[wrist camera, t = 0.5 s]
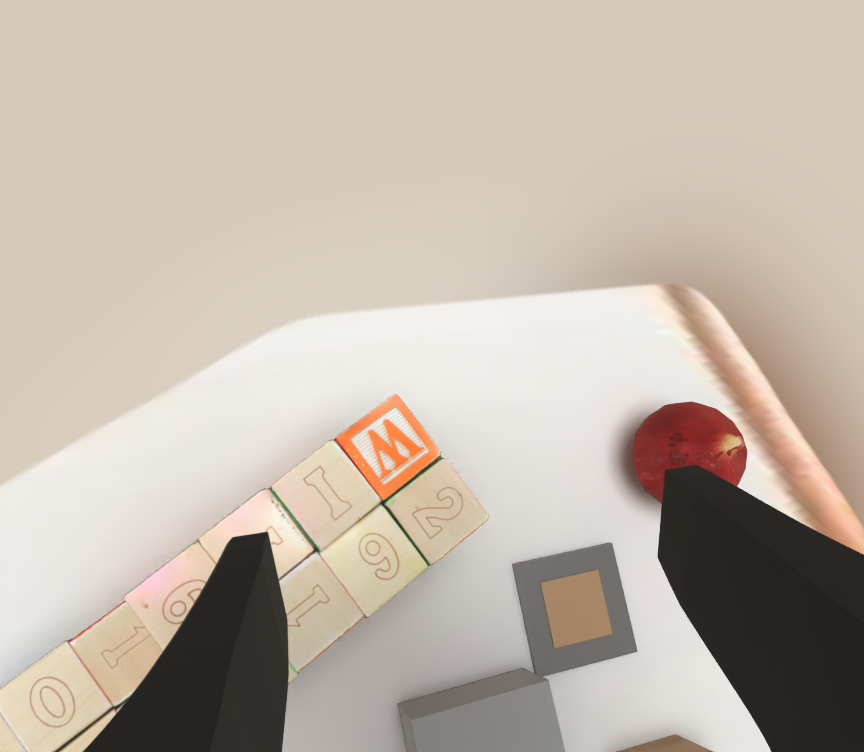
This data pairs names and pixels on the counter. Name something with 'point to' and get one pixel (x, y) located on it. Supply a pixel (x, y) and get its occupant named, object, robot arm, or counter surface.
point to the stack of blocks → (295, 563)
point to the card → (574, 609)
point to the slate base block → (485, 717)
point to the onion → (687, 445)
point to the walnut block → (668, 746)
